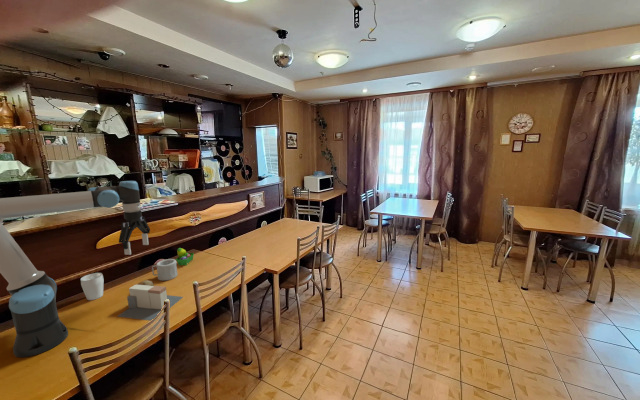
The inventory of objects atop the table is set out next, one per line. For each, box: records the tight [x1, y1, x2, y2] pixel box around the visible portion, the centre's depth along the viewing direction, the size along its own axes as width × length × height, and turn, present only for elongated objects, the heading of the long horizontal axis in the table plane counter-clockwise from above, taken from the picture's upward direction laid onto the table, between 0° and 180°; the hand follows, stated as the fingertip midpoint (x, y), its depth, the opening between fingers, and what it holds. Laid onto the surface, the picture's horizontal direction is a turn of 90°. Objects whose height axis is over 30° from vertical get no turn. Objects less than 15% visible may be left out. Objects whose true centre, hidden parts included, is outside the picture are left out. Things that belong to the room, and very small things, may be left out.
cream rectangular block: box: [126, 283, 155, 309], centre depth 127 cm, size 6×12×10 cm, turn 81°
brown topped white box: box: [149, 285, 168, 309], centre depth 126 cm, size 4×6×10 cm
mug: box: [151, 258, 178, 282], centre depth 157 cm, size 14×11×10 cm
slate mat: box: [116, 294, 184, 322], centre depth 128 cm, size 20×20×1 cm
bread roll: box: [137, 279, 155, 286], centre depth 141 cm, size 10×10×8 cm
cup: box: [80, 272, 105, 301], centre depth 135 cm, size 9×9×12 cm
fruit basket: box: [175, 247, 195, 266], centre depth 178 cm, size 11×9×11 cm
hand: (137, 249), depth 134 cm, fingers open, 13 cm apart
